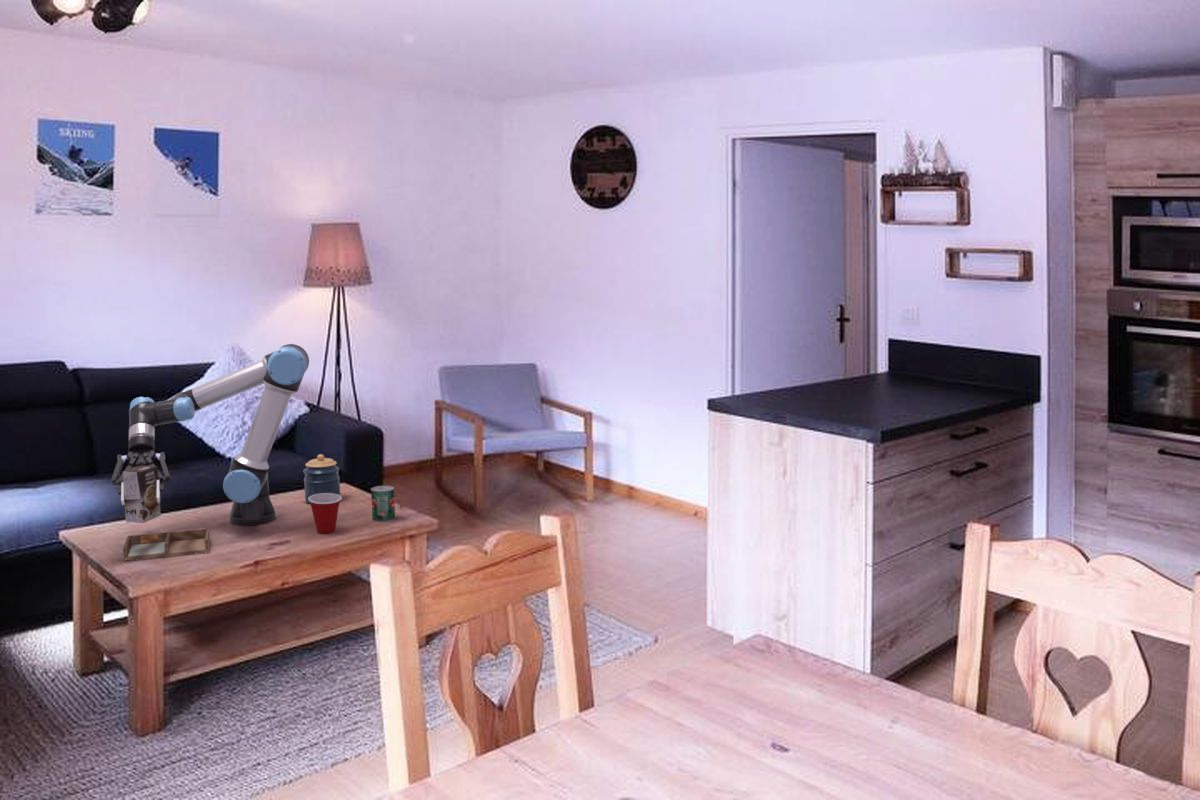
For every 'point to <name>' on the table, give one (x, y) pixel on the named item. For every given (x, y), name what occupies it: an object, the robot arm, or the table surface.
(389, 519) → the canned tomato
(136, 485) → the coffee box
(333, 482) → the canister
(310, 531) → the table surface
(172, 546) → the tray
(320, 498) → the plastic cup
